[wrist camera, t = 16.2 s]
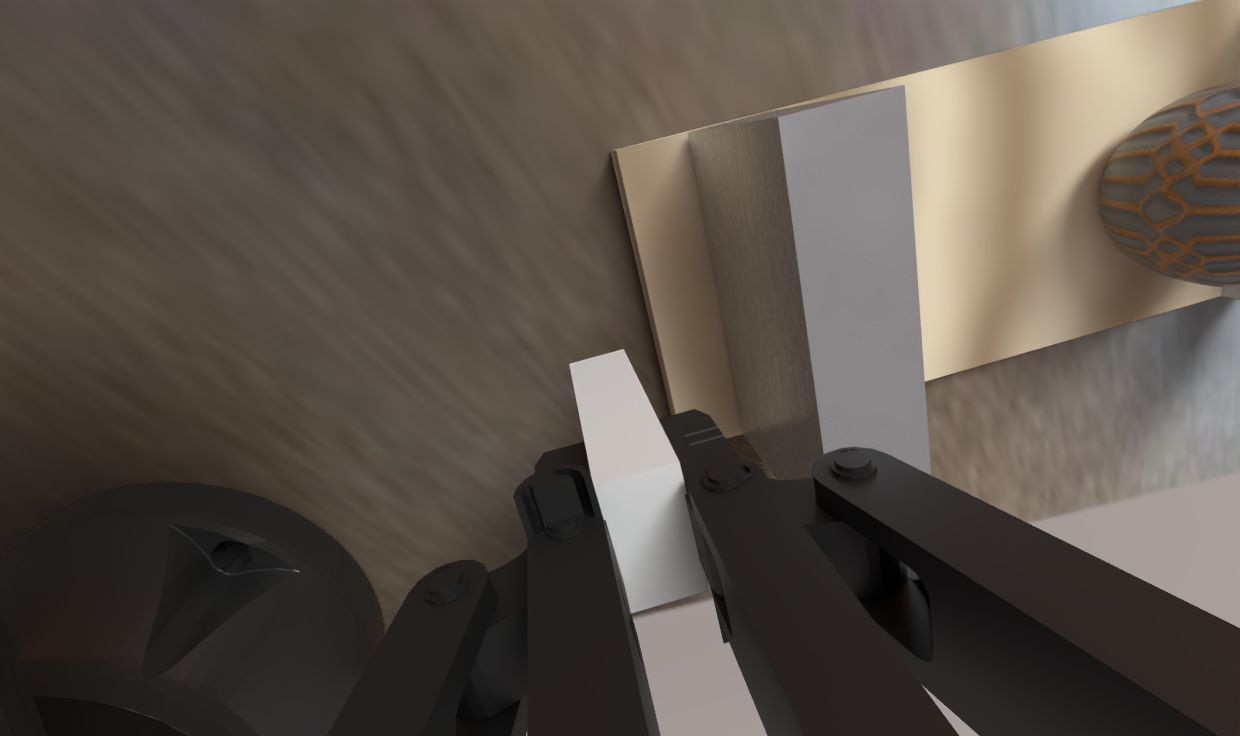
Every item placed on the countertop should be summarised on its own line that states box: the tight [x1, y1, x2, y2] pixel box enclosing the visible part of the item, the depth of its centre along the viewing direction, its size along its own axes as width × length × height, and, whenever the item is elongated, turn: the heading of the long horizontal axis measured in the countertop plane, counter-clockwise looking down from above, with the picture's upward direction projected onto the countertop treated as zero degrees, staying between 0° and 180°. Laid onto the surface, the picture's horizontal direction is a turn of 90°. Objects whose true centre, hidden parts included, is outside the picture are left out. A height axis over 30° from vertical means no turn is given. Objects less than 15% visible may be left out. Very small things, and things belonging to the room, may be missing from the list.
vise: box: [610, 0, 1240, 439], centre depth 21 cm, size 28×12×10 cm, turn 103°
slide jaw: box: [688, 85, 931, 480], centre depth 20 cm, size 3×12×8 cm, turn 13°
